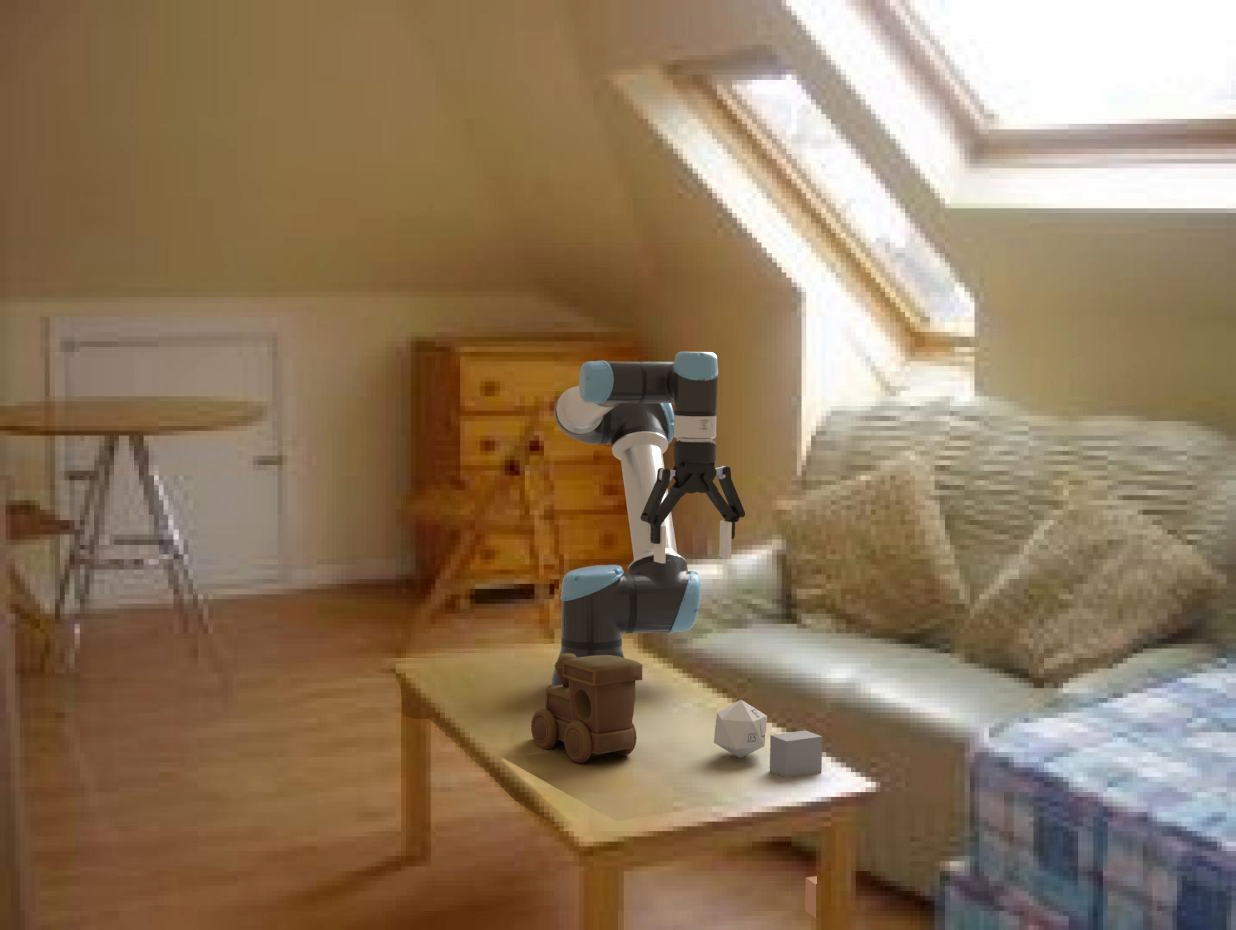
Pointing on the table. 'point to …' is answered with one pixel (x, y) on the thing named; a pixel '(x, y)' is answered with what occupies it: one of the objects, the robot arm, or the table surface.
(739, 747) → the die
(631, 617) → the robot arm
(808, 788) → the table surface
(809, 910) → the salmon pink block
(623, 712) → the wooden toy train
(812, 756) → the gray rectangular block
